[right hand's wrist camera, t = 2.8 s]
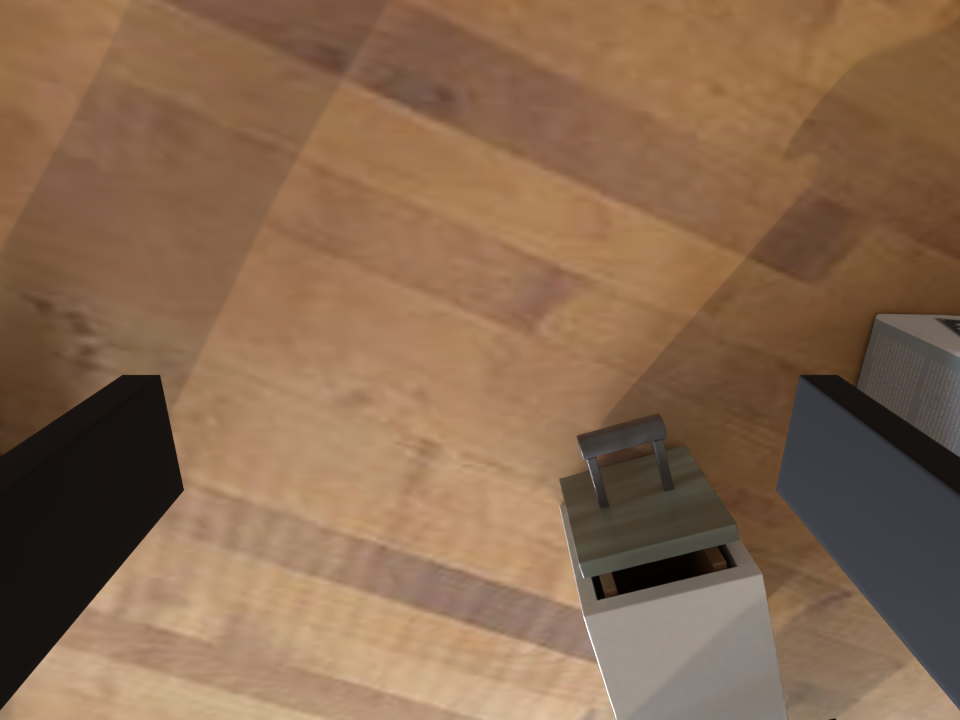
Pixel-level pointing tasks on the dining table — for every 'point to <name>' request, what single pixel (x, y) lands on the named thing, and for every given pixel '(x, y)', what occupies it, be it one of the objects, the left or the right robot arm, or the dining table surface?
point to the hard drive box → (917, 372)
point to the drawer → (644, 512)
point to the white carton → (686, 644)
